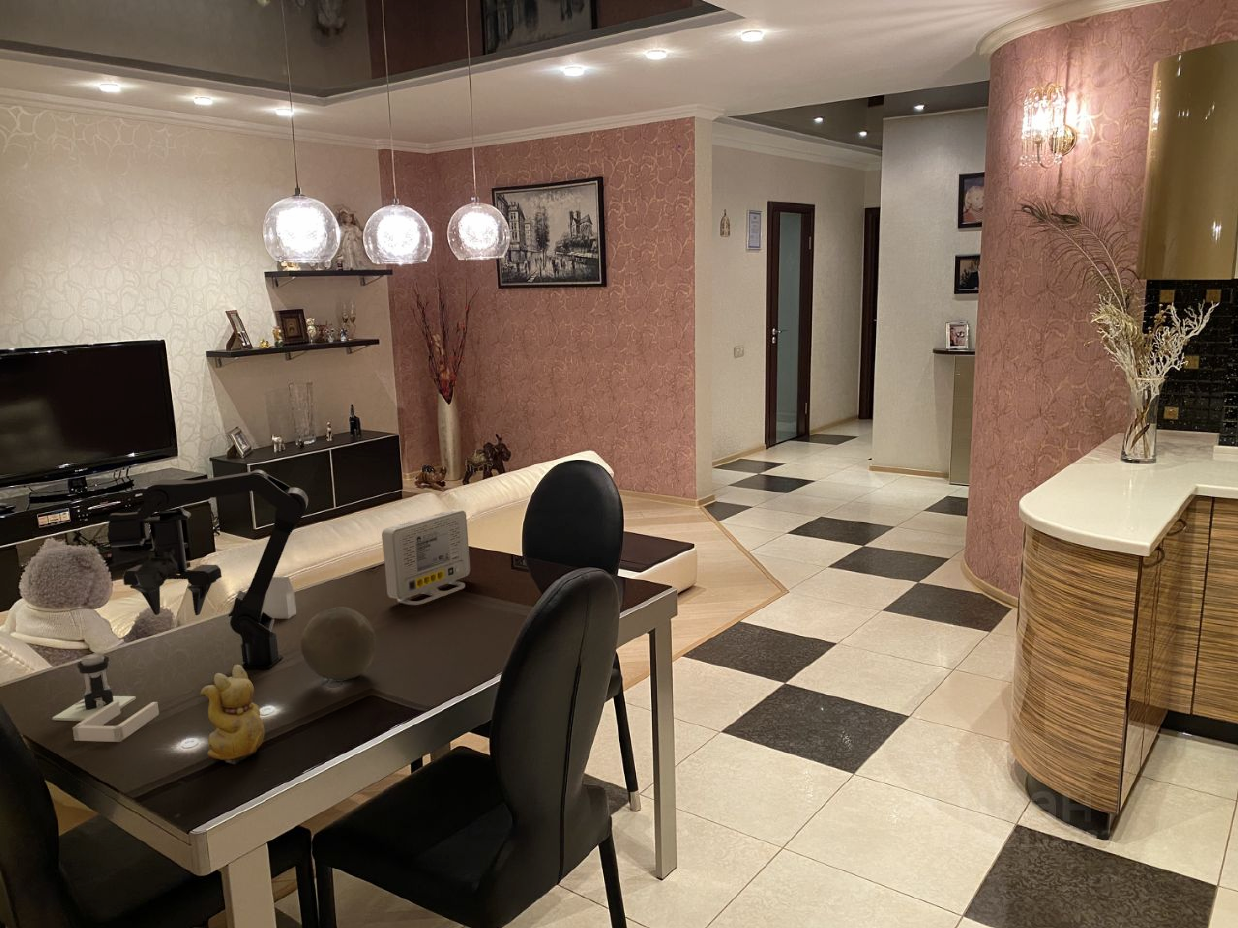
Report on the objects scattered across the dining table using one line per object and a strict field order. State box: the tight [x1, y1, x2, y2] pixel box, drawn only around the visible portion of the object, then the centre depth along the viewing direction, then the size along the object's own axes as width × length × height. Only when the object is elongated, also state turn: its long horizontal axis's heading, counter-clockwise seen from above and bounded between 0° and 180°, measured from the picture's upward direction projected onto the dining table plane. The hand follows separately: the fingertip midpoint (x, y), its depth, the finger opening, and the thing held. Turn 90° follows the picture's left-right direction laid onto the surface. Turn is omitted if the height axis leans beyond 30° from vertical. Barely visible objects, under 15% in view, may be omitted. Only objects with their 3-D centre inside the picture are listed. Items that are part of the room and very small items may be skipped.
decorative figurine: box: [200, 664, 266, 765], centre depth 155 cm, size 10×8×15 cm
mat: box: [52, 695, 137, 722], centre depth 177 cm, size 10×10×1 cm
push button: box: [74, 652, 114, 710], centre depth 177 cm, size 7×5×10 cm
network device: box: [381, 508, 471, 606], centre depth 239 cm, size 26×9×20 cm, turn 144°
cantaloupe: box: [300, 606, 377, 682], centre depth 185 cm, size 14×14×15 cm
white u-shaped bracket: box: [72, 701, 160, 743], centre depth 169 cm, size 9×11×2 cm
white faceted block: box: [263, 576, 297, 619], centre depth 227 cm, size 4×7×10 cm, turn 81°
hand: (177, 614), depth 191 cm, fingers open, 9 cm apart
